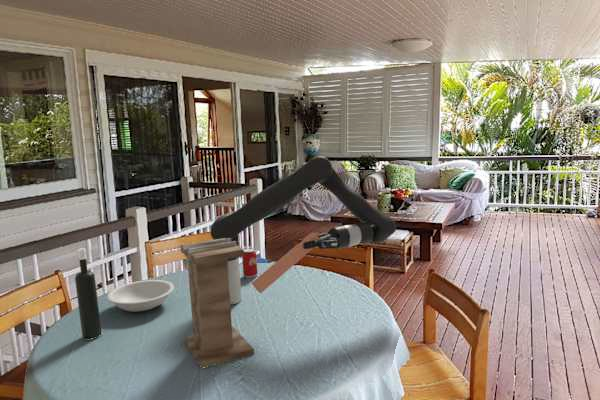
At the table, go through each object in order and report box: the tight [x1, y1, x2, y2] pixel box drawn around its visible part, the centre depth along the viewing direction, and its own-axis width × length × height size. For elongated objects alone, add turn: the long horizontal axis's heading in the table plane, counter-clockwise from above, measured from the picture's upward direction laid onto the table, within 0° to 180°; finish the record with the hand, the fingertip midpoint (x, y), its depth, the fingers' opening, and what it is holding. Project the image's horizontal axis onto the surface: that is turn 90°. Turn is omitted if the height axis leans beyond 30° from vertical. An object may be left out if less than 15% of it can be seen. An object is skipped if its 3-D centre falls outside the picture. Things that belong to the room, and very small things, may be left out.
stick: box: [251, 232, 319, 294], centre depth 148 cm, size 3×26×3 cm
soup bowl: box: [106, 279, 175, 312], centre depth 174 cm, size 24×24×7 cm
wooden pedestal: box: [179, 238, 255, 369], centre depth 138 cm, size 18×16×33 cm
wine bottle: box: [74, 247, 102, 340], centre depth 149 cm, size 6×6×30 cm
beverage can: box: [241, 248, 258, 279], centre depth 204 cm, size 6×6×12 cm
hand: (301, 244), depth 150 cm, fingers closed on stick, 3 cm apart
